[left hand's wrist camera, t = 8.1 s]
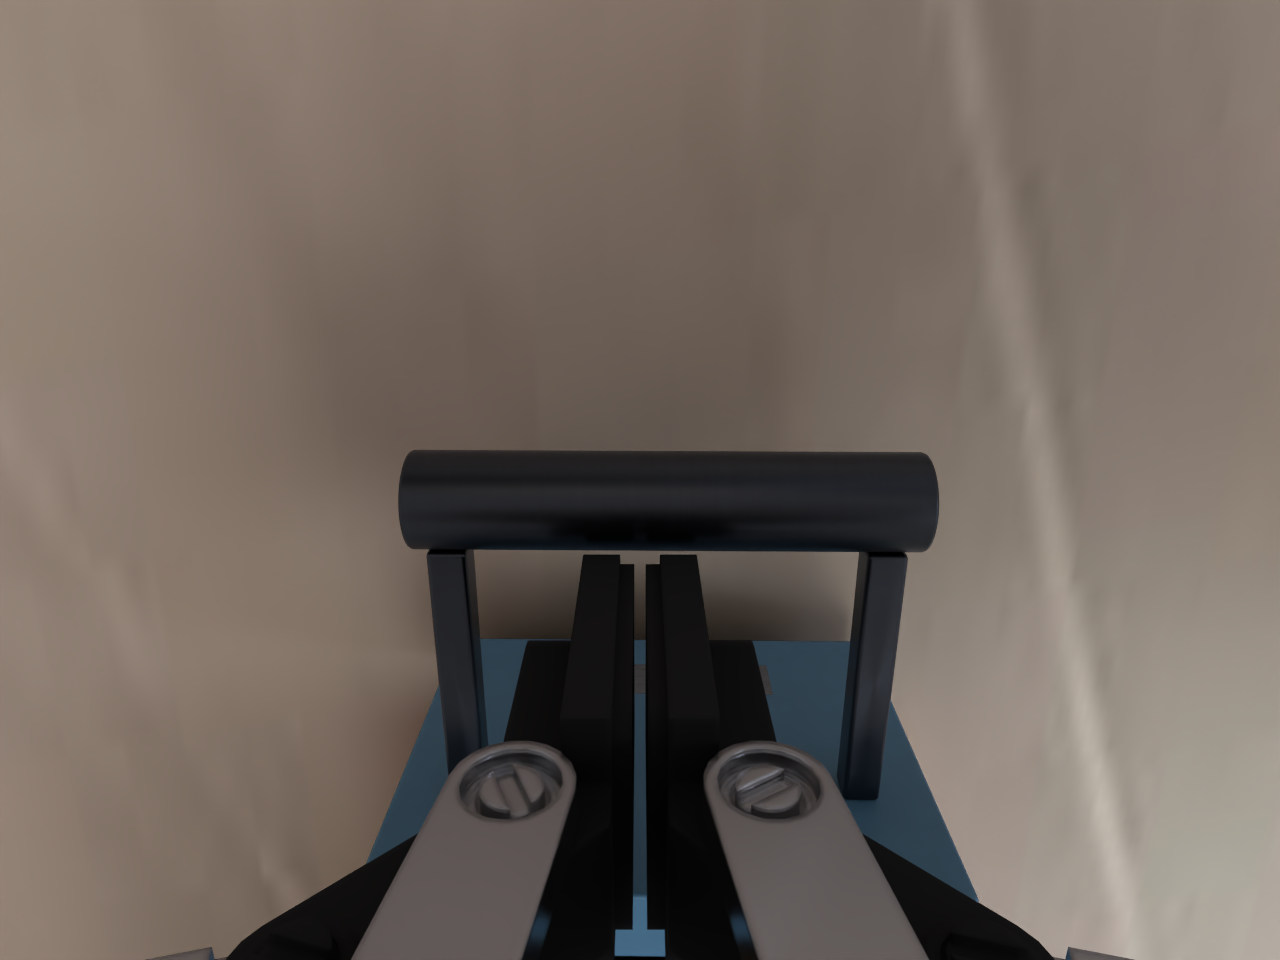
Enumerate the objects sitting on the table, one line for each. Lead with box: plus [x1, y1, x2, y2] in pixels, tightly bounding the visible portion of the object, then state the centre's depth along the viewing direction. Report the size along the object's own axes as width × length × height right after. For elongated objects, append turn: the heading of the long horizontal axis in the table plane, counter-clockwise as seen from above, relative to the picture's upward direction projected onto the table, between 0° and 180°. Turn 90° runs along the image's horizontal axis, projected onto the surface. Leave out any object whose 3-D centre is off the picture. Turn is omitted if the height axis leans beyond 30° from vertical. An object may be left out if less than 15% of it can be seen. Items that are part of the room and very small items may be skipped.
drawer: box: [366, 450, 979, 960], centre depth 17 cm, size 21×9×7 cm, turn 0°
